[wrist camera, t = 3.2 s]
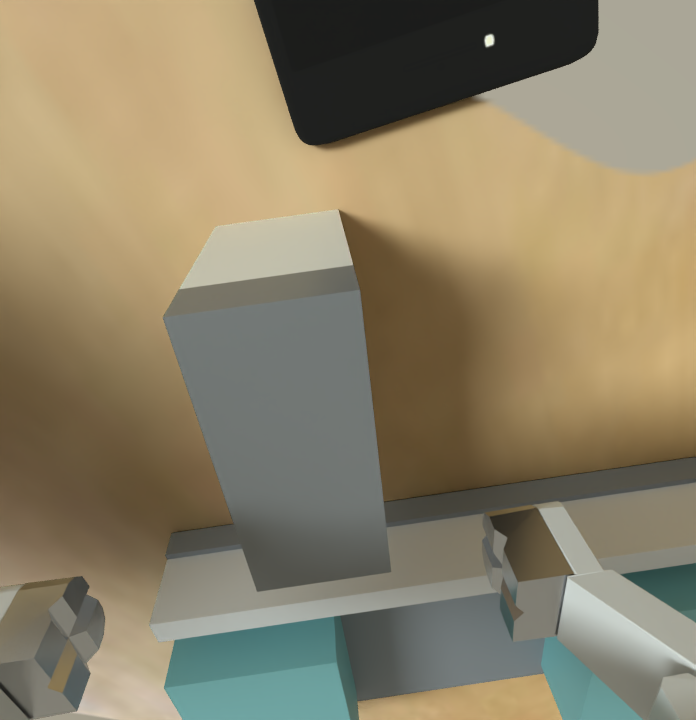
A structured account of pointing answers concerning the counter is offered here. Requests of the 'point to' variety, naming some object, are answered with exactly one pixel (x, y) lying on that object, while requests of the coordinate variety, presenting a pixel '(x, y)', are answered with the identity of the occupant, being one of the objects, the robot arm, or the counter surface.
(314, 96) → the cell phone
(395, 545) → the board
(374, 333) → the counter surface
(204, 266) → the block
